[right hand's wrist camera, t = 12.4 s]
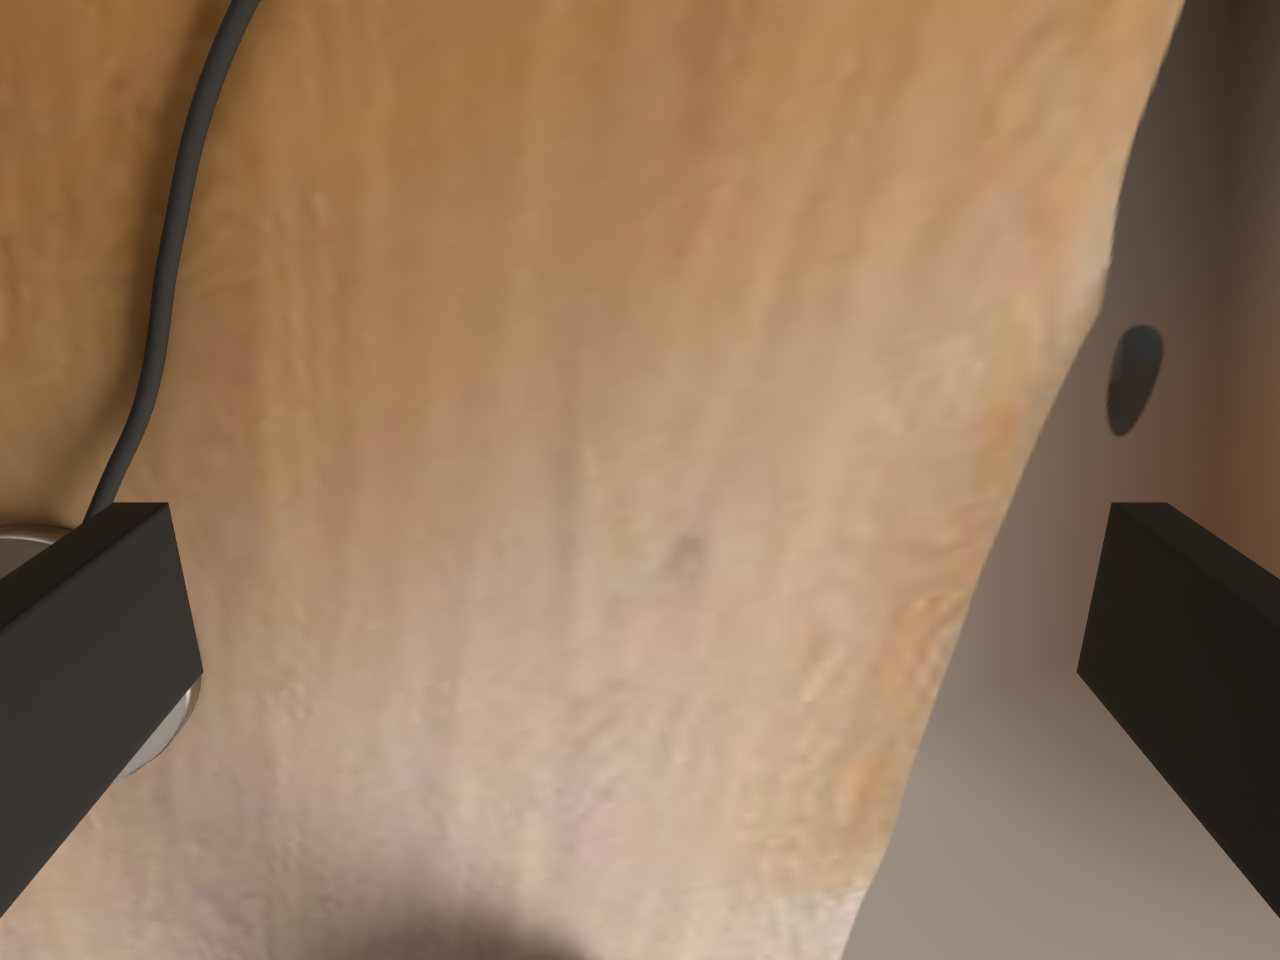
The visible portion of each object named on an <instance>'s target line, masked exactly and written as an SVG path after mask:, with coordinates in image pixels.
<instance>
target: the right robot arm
mask: <svg viewBox="0 0 1280 960" xmlns="http://www.w3.org/2000/svg"><path fill="white" fill-rule="evenodd" d="M259 2H260V0H232V2H231V4H230V6H229V8H228V10H227V12H226V14H225V16H224V19H223V21H222V23H221V25H220V28H219V30H218V32H217V34H216V37H215V39H214V42H213V44H212V46H211V49H210V52H209V54H208V57H207V59H206V62H205V65H204V67H203V70H202V73H201V76H200V78H199V81H198V84H197V87H196V90H195V93H194V96H193V99H192V103H191V106H190V109H189V112H188V116H187V119H186V123H185V127H184V130H183V134H182V138H181V142H180V146H179V151H178V155H177V160H176V164H175V169H174V174H173V179H172V185H171V190H170V195H169V200H168V206H167V211H166V217H165V222H164V227H163V232H162V237H161V243H160V248H159V253H158V258H157V264H156V270H155V277H154V284H153V292H152V300H151V309H150V318H149V327H148V335H147V342H146V349H145V355H144V361H143V366H142V371H141V376H140V380H139V384H138V388H137V392H136V396H135V399H134V402H133V406H132V409H131V411H130V414H129V417H128V420H127V422H126V425H125V427H124V429H123V431H122V434H121V436H120V438H119V440H118V442H117V444H116V447H115V449H114V451H113V453H112V455H111V457H110V459H109V461H108V463H107V466H106V468H105V470H104V472H103V475H102V477H101V479H100V482H99V484H98V486H97V489H96V491H95V494H94V496H93V498H92V501H91V503H90V506H89V508H88V511H87V513H86V515H85V518H84V520H83V523H82V524H81V525H79V526H78V527H77V528H75V529H74V530H72V531H71V530H67V529H63V528H58V527H52V526H45V525H32V524H28V525H9V526H1V527H0V918H1V917H2V916H3V914H4V913H5V912H6V911H7V909H8V908H9V907H10V906H11V905H12V903H13V902H14V901H15V900H16V899H17V897H18V896H19V895H20V894H21V893H22V891H23V890H24V889H25V888H26V886H27V885H28V884H29V883H30V882H31V880H32V879H33V878H34V877H35V876H36V874H37V873H38V872H39V871H40V869H41V868H42V867H43V866H44V865H45V863H46V862H47V861H48V860H49V859H50V857H51V856H52V855H53V854H54V853H55V851H56V850H57V849H58V848H59V846H60V845H61V844H62V843H63V842H64V840H65V839H66V838H67V837H68V836H69V834H70V833H71V832H72V831H73V830H74V828H75V827H76V826H77V825H78V823H79V822H80V821H81V820H82V819H83V817H84V816H85V815H86V814H87V813H88V811H89V810H90V809H91V808H92V806H93V805H94V804H95V803H96V802H97V800H98V799H99V798H100V797H101V796H102V794H103V793H104V792H105V791H106V790H107V788H108V787H109V786H111V785H112V784H114V783H116V782H117V781H119V780H120V779H122V778H123V777H125V776H128V775H130V774H132V773H134V772H136V771H137V770H139V769H140V768H142V767H143V766H145V765H146V764H147V763H149V762H150V761H152V760H153V759H154V758H155V757H157V756H158V755H159V754H160V753H161V752H162V751H163V750H164V749H165V748H166V747H167V746H168V745H169V743H170V742H171V741H172V740H173V738H174V737H175V736H176V734H177V733H178V732H179V731H180V729H181V728H182V727H183V725H184V724H185V723H186V721H187V720H188V718H189V717H190V715H191V713H192V711H193V709H194V707H195V704H196V702H197V699H198V695H199V691H200V685H201V674H202V673H203V668H202V663H201V658H200V653H199V648H198V644H197V639H196V634H195V629H194V624H193V619H192V615H191V610H190V605H189V600H188V595H187V591H186V586H185V581H184V576H183V571H182V566H181V562H180V557H179V552H178V547H177V542H176V538H175V533H174V528H173V523H172V518H171V513H170V509H169V504H168V503H113V501H114V498H115V496H116V494H117V491H118V489H119V486H120V484H121V482H122V479H123V477H124V475H125V473H126V471H127V469H128V466H129V464H130V462H131V460H132V458H133V456H134V454H135V452H136V450H137V448H138V446H139V443H140V441H141V439H142V437H143V435H144V432H145V430H146V427H147V425H148V422H149V420H150V417H151V414H152V411H153V408H154V405H155V401H156V397H157V394H158V390H159V386H160V382H161V378H162V373H163V368H164V363H165V357H166V351H167V344H168V337H169V329H170V321H171V313H172V305H173V297H174V290H175V283H176V277H177V271H178V265H179V260H180V255H181V250H182V245H183V240H184V235H185V230H186V225H187V220H188V215H189V210H190V205H191V200H192V195H193V190H194V185H195V180H196V175H197V171H198V166H199V162H200V158H201V154H202V150H203V145H204V142H205V138H206V134H207V131H208V127H209V124H210V121H211V117H212V114H213V111H214V108H215V105H216V102H217V99H218V96H219V94H220V91H221V88H222V85H223V83H224V80H225V77H226V75H227V72H228V69H229V67H230V64H231V62H232V59H233V57H234V55H235V52H236V50H237V48H238V45H239V43H240V41H241V39H242V37H243V34H244V32H245V30H246V28H247V26H248V24H249V22H250V20H251V18H252V16H253V14H254V12H255V10H256V8H257V6H258V4H259ZM1077 673H1078V674H1079V676H1080V677H1081V678H1082V679H1083V681H1084V682H1085V683H1086V684H1087V685H1088V687H1089V688H1090V689H1091V690H1092V691H1093V693H1094V694H1095V695H1096V696H1097V697H1098V699H1099V700H1100V701H1101V702H1102V704H1103V705H1104V706H1105V707H1106V708H1107V710H1108V711H1109V712H1110V713H1111V714H1112V716H1113V717H1114V718H1115V719H1116V720H1117V722H1118V723H1119V724H1120V725H1121V727H1122V728H1123V729H1124V730H1125V731H1126V733H1127V734H1128V735H1129V736H1130V737H1131V739H1132V740H1133V741H1134V742H1135V744H1136V745H1137V746H1138V747H1139V748H1140V750H1141V751H1142V752H1143V753H1144V754H1145V756H1146V757H1147V758H1148V759H1149V760H1150V762H1151V763H1152V764H1153V765H1154V767H1155V768H1156V769H1157V770H1158V771H1159V772H1160V774H1161V775H1162V776H1163V777H1164V779H1165V780H1166V781H1167V782H1168V783H1169V785H1170V786H1171V787H1172V788H1173V790H1174V791H1175V792H1176V793H1177V794H1178V796H1179V797H1180V798H1181V799H1182V800H1183V802H1184V803H1185V804H1186V805H1187V807H1188V808H1189V809H1190V810H1191V811H1192V813H1193V814H1194V815H1195V816H1196V817H1197V819H1198V820H1199V821H1200V822H1201V823H1202V825H1203V826H1204V827H1205V828H1206V830H1207V831H1208V832H1209V833H1210V834H1211V836H1212V837H1213V838H1214V839H1215V840H1216V842H1217V843H1218V844H1219V845H1220V846H1221V848H1222V849H1223V850H1224V851H1225V853H1226V854H1227V855H1228V856H1229V857H1230V859H1231V860H1232V861H1233V862H1234V863H1235V865H1236V866H1237V867H1238V868H1239V869H1240V871H1241V872H1242V873H1243V874H1244V876H1245V877H1246V878H1247V879H1248V880H1249V882H1250V883H1251V884H1252V885H1253V886H1254V888H1255V889H1256V890H1257V891H1258V892H1259V894H1260V895H1261V896H1262V897H1263V899H1264V900H1265V901H1266V902H1267V903H1268V905H1269V906H1270V907H1271V908H1272V909H1273V911H1274V912H1275V913H1276V914H1277V915H1278V917H1279V918H1280V579H1278V578H1277V577H1275V576H1274V575H1272V574H1271V573H1269V572H1268V571H1267V570H1265V569H1264V568H1262V567H1261V566H1259V565H1258V564H1256V563H1255V562H1253V561H1252V560H1250V559H1249V558H1247V557H1246V556H1244V555H1243V554H1242V553H1240V552H1239V551H1237V550H1236V549H1234V548H1233V547H1231V546H1230V545H1228V544H1227V543H1225V542H1224V541H1223V540H1221V539H1220V538H1218V537H1217V536H1215V535H1214V534H1212V533H1211V532H1209V531H1208V530H1206V529H1205V528H1203V527H1202V526H1201V525H1199V524H1198V523H1196V522H1195V521H1193V520H1192V519H1190V518H1189V517H1187V516H1186V515H1184V514H1183V513H1181V512H1180V511H1179V510H1177V509H1175V508H1174V507H1173V506H1171V505H1170V504H1168V503H1112V504H1111V509H1110V513H1109V518H1108V523H1107V528H1106V533H1105V538H1104V542H1103V547H1102V552H1101V557H1100V562H1099V566H1098V571H1097V576H1096V581H1095V586H1094V591H1093V595H1092V600H1091V605H1090V610H1089V615H1088V620H1087V624H1086V629H1085V634H1084V639H1083V644H1082V649H1081V653H1080V658H1079V663H1078V668H1077Z"/></svg>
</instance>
